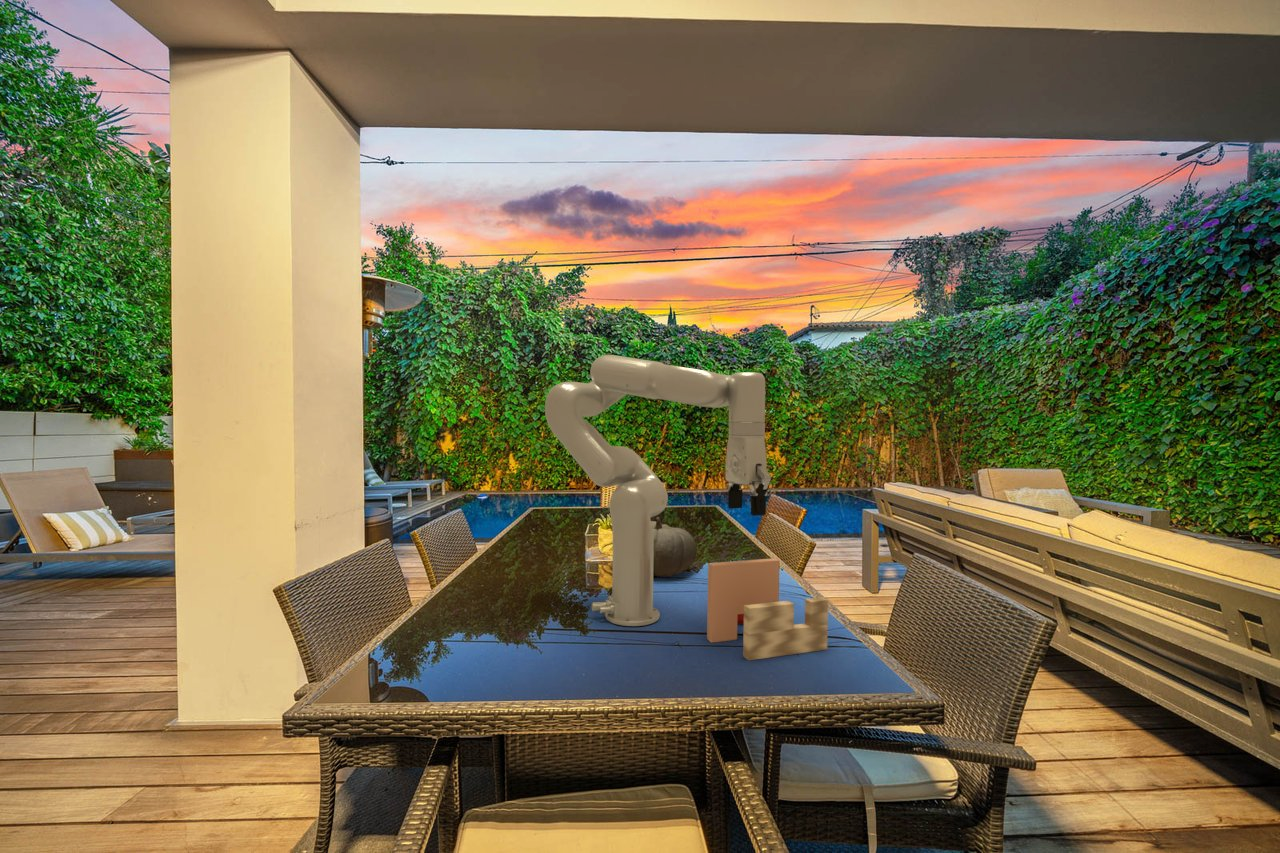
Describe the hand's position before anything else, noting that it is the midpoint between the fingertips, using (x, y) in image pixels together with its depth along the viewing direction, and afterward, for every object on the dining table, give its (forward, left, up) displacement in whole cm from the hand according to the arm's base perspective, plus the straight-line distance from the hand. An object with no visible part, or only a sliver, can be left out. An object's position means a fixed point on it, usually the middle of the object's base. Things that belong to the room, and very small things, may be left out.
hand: (746, 511), depth 121 cm
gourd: (0, +54, -27) cm, 61 cm away
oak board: (+4, -10, -27) cm, 29 cm away
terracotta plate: (0, 0, -27) cm, 27 cm away
